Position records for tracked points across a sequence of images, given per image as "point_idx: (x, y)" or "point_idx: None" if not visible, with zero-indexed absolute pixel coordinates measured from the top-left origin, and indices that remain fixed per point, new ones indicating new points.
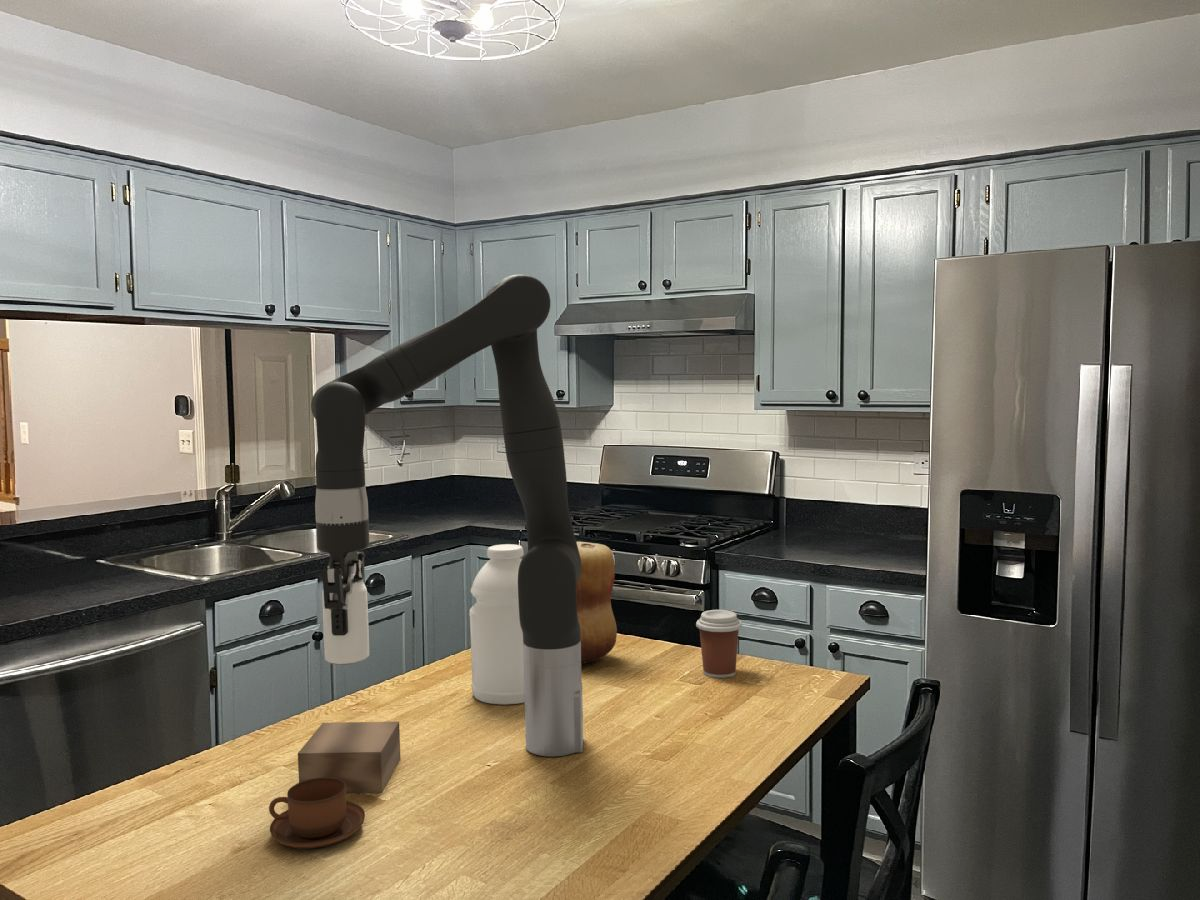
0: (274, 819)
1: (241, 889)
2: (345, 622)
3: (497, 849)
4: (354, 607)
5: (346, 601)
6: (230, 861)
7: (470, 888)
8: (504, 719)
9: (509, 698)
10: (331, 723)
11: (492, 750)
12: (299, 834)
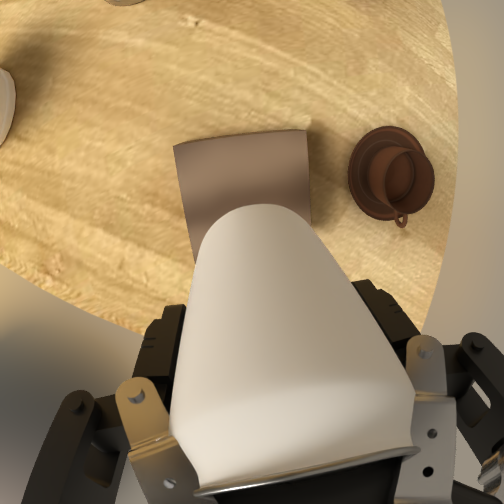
0: (386, 220)
1: (452, 203)
2: (386, 305)
3: (398, 6)
4: (378, 326)
5: (431, 364)
6: (420, 230)
7: (447, 34)
8: (51, 69)
9: (11, 88)
10: (196, 251)
11: (147, 35)
12: (407, 185)
